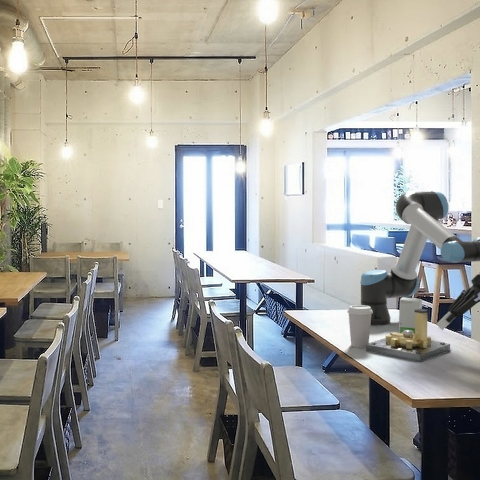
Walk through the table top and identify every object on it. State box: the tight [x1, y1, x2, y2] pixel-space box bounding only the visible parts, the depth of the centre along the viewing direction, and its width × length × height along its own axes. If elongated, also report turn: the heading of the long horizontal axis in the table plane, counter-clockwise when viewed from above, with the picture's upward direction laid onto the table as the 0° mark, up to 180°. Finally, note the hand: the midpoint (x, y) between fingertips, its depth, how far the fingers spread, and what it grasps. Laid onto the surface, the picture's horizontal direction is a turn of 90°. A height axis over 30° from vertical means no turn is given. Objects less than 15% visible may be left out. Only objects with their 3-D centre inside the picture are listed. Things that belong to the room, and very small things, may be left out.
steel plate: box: [365, 330, 451, 363], centre depth 215 cm, size 22×22×7 cm
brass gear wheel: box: [385, 308, 432, 349], centre depth 214 cm, size 16×16×13 cm
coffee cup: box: [346, 304, 373, 349], centre depth 222 cm, size 10×10×15 cm
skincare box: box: [398, 297, 423, 334], centre depth 237 cm, size 8×7×16 cm
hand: (439, 327), depth 209 cm, fingers closed
